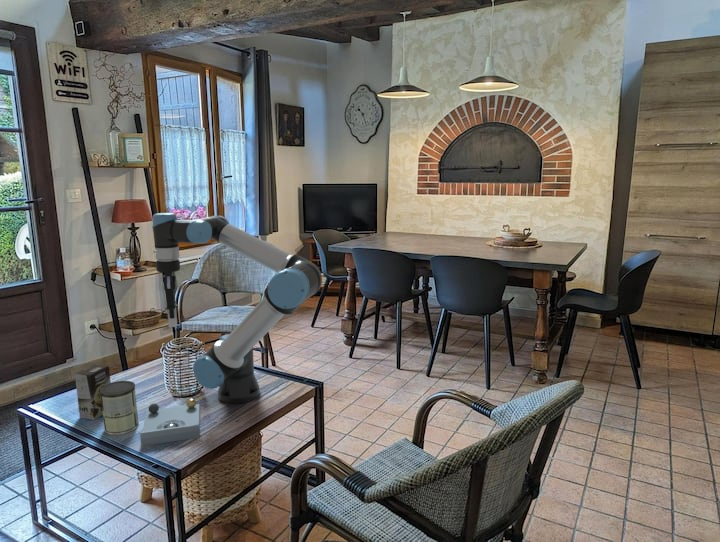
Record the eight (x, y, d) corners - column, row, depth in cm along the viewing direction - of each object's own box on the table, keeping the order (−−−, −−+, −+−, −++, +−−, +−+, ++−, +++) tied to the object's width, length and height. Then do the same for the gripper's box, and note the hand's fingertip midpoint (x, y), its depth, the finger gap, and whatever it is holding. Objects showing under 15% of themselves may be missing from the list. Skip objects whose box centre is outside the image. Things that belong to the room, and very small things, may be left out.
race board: (199, 410, 178) (198, 398, 177) (199, 437, 160) (198, 424, 159) (147, 417, 173) (146, 405, 172) (141, 446, 155) (140, 433, 154)
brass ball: (196, 405, 176) (195, 396, 175) (196, 409, 173) (195, 400, 172) (186, 406, 175) (186, 397, 174) (186, 410, 172) (185, 401, 171)
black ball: (159, 409, 172) (158, 401, 172) (158, 414, 169) (158, 405, 169) (149, 411, 172) (148, 402, 171) (148, 415, 169) (147, 406, 168)
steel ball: (173, 425, 164) (179, 423, 163) (172, 435, 163) (178, 433, 161) (164, 424, 162) (170, 422, 161) (163, 434, 161) (169, 432, 159)
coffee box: (94, 420, 171) (89, 375, 167) (79, 418, 172) (73, 373, 169) (114, 408, 179) (109, 365, 176) (99, 406, 181) (94, 363, 178)
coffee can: (98, 428, 165) (93, 388, 163) (129, 416, 173) (125, 377, 170) (113, 439, 159) (108, 397, 156) (144, 426, 167) (141, 386, 164)
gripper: (157, 256, 176) (162, 322, 180) (154, 263, 163) (160, 333, 168) (180, 255, 178) (184, 320, 183) (178, 262, 166) (184, 331, 170)
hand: (173, 326), depth 175 cm, fingers closed
